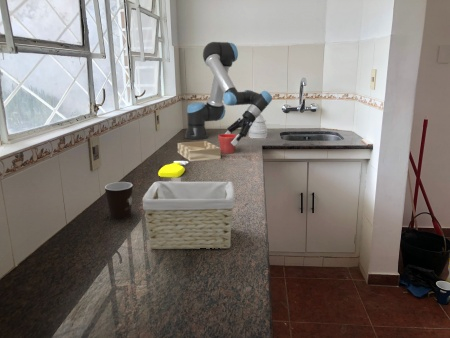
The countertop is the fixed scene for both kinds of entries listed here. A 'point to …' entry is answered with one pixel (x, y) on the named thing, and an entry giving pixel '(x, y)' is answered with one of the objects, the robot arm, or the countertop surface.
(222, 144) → the flower pot
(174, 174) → the spray bottle
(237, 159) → the countertop surface
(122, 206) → the coffee mug
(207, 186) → the storage basket
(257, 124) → the honey pot
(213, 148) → the pine crate
